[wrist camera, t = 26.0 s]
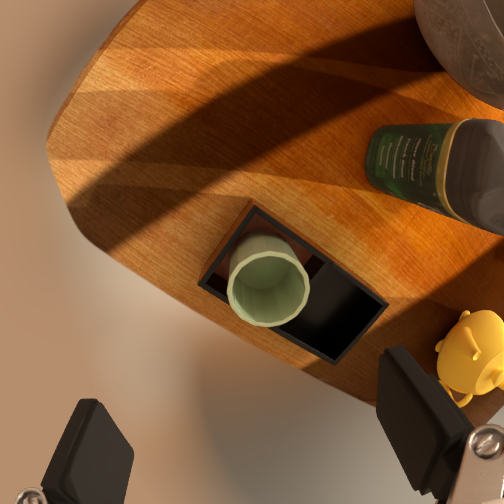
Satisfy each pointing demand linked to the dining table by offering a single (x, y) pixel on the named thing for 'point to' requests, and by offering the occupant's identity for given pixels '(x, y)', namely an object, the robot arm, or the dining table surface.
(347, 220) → the dining table surface
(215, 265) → the black divided tray
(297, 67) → the dining table surface
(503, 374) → the teapot
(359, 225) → the dining table surface
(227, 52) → the dining table surface
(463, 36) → the bowl
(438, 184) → the coffee jar
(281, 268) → the sage cup
